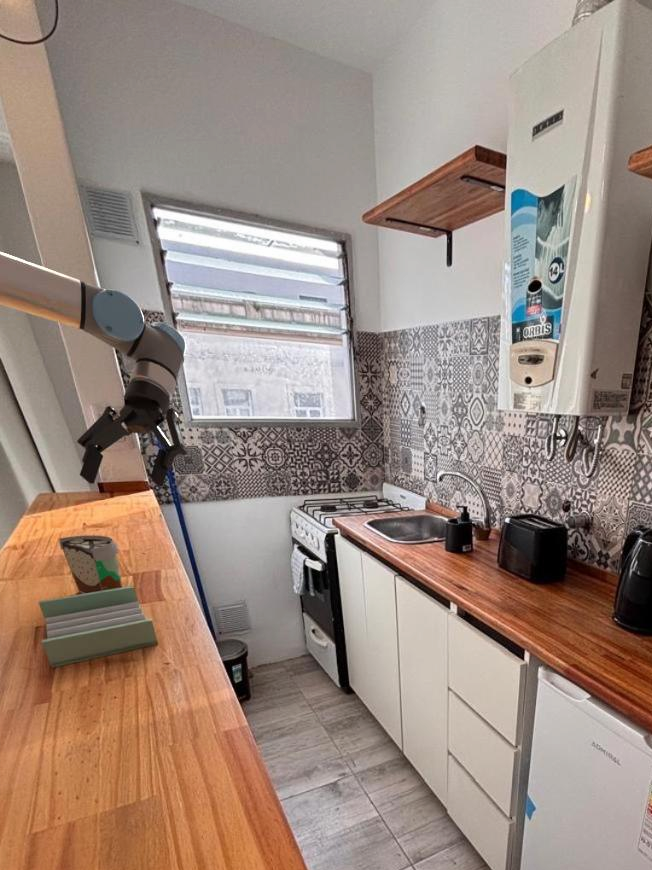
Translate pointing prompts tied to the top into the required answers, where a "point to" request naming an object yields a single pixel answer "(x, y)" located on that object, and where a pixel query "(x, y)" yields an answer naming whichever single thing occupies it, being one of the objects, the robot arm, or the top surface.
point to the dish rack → (95, 625)
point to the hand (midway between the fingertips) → (121, 480)
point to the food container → (92, 562)
